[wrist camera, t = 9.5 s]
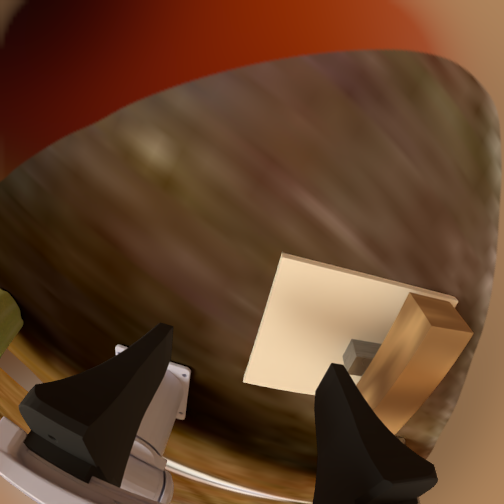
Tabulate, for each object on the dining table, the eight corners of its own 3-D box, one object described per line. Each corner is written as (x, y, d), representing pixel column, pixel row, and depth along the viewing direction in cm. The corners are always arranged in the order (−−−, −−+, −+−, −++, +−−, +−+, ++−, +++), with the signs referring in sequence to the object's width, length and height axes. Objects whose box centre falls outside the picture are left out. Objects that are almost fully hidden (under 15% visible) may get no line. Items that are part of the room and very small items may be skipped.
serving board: (390, 397, 26) (392, 402, 25) (244, 376, 26) (243, 382, 25) (454, 296, 21) (458, 301, 20) (281, 252, 21) (281, 256, 20)
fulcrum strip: (407, 365, 23) (414, 381, 21) (342, 356, 23) (345, 374, 21) (417, 349, 22) (425, 365, 20) (351, 338, 22) (356, 356, 20)
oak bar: (370, 419, 23) (377, 451, 20) (334, 416, 23) (337, 451, 20) (449, 301, 18) (473, 333, 14) (409, 292, 18) (431, 326, 14)
